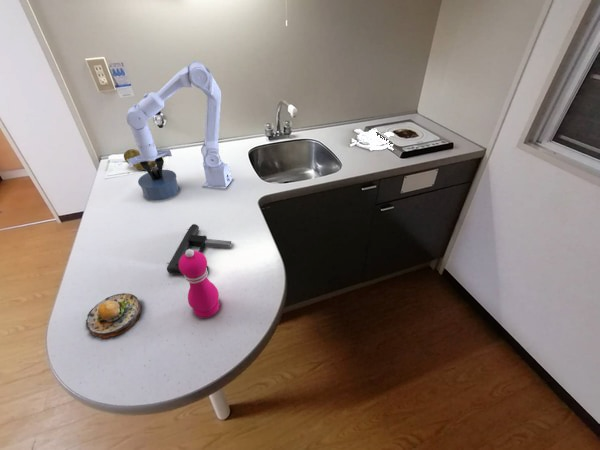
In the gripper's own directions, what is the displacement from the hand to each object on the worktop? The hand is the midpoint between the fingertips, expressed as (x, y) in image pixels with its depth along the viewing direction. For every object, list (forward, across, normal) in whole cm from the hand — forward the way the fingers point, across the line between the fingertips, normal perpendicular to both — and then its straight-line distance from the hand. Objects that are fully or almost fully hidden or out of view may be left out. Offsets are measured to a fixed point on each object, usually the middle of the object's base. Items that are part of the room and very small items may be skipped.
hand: (156, 177), depth 116 cm
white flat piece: (+7, +105, -8) cm, 105 cm away
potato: (+7, -2, +26) cm, 27 cm away
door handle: (+7, +2, -42) cm, 43 cm away
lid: (+1, 0, 0) cm, 1 cm away
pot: (+7, 0, 0) cm, 7 cm away
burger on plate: (+7, -24, -52) cm, 58 cm away
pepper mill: (+7, -4, -62) cm, 63 cm away
